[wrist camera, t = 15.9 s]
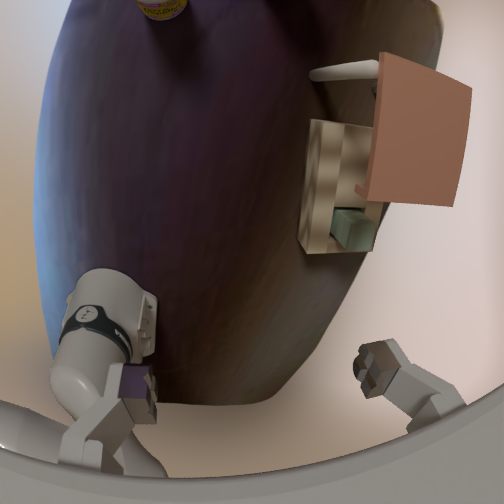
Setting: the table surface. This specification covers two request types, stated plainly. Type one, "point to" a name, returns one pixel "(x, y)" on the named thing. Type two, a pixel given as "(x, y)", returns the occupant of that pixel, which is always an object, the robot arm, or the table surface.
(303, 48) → the table surface
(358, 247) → the peg
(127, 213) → the table surface
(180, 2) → the supplement bottle
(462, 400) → the robot arm
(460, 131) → the small toy table
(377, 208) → the socket block
